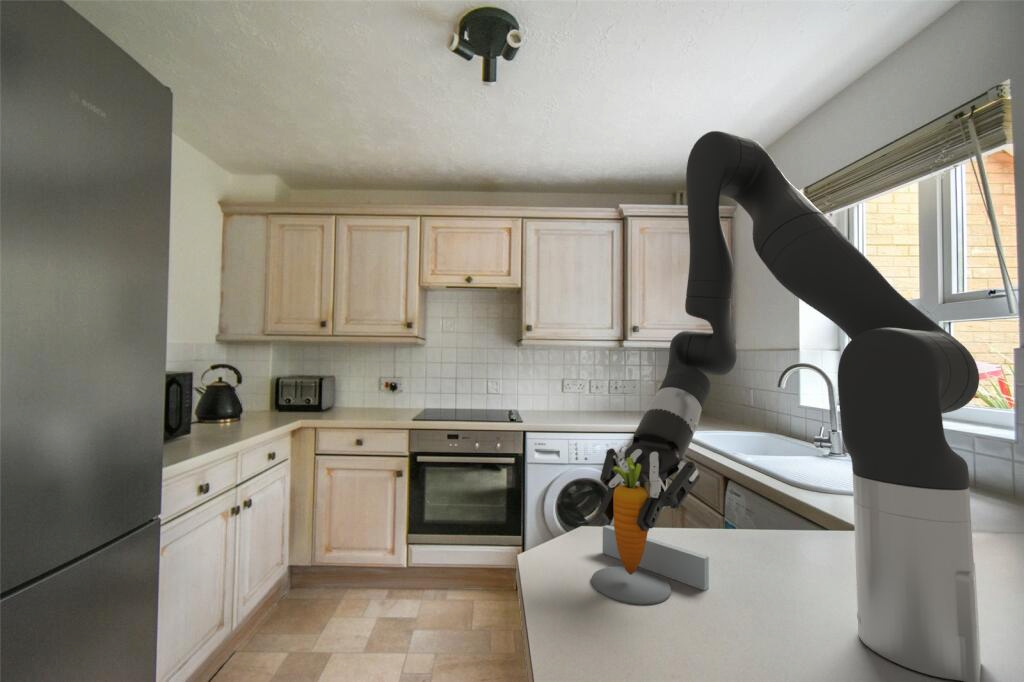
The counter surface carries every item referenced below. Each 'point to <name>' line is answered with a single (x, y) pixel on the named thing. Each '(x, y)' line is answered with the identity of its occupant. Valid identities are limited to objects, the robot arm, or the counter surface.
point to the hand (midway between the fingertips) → (623, 521)
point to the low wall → (666, 560)
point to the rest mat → (631, 586)
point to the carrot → (629, 517)
